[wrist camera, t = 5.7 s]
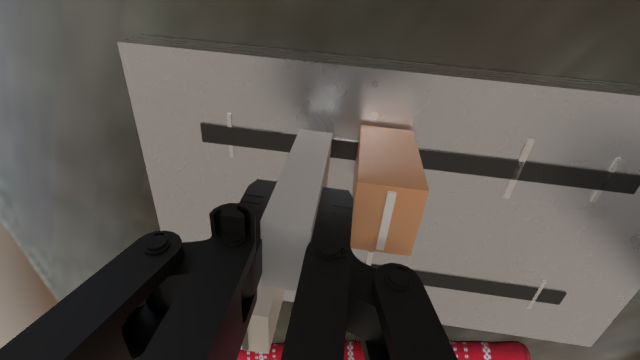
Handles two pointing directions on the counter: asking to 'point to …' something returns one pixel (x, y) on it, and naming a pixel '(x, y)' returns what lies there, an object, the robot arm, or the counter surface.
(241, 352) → the dish towel
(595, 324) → the console
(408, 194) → the fader terracotta
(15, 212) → the counter surface
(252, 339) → the fader cream
